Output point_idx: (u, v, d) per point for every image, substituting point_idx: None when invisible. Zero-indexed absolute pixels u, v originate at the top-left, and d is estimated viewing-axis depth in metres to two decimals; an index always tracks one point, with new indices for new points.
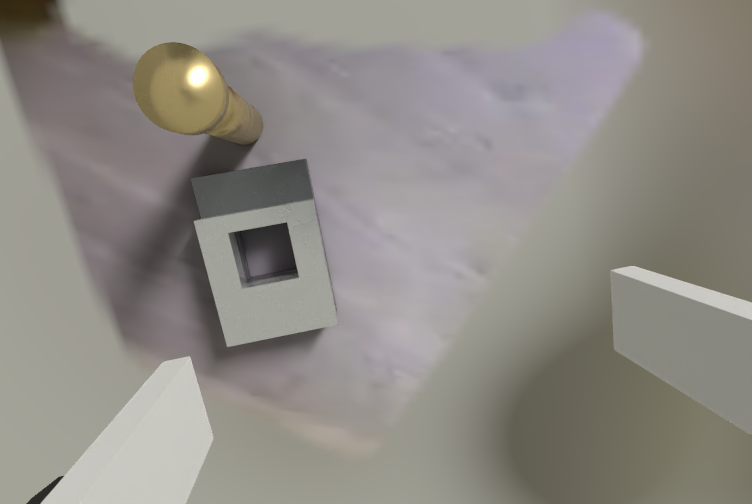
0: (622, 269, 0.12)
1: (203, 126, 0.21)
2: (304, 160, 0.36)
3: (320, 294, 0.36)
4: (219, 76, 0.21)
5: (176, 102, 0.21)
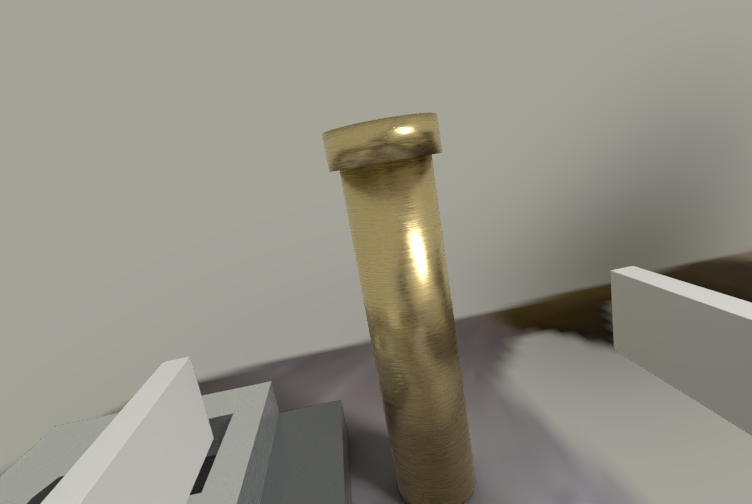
0: (622, 269, 0.12)
1: (327, 133, 0.15)
2: None
3: None
4: (395, 118, 0.13)
5: None
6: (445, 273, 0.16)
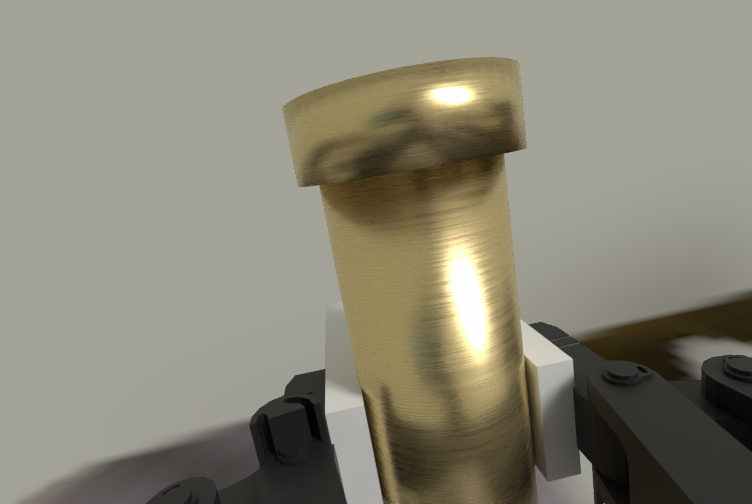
0: None
1: (289, 106, 0.07)
2: None
3: None
4: (444, 66, 0.06)
5: None
6: (525, 383, 0.08)
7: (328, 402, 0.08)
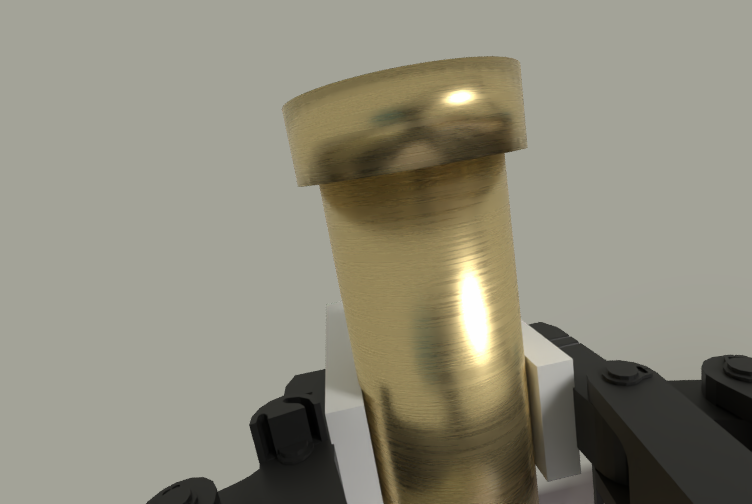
0: None
1: (289, 105, 0.07)
2: None
3: None
4: (445, 65, 0.06)
5: None
6: (526, 383, 0.08)
7: (328, 402, 0.08)
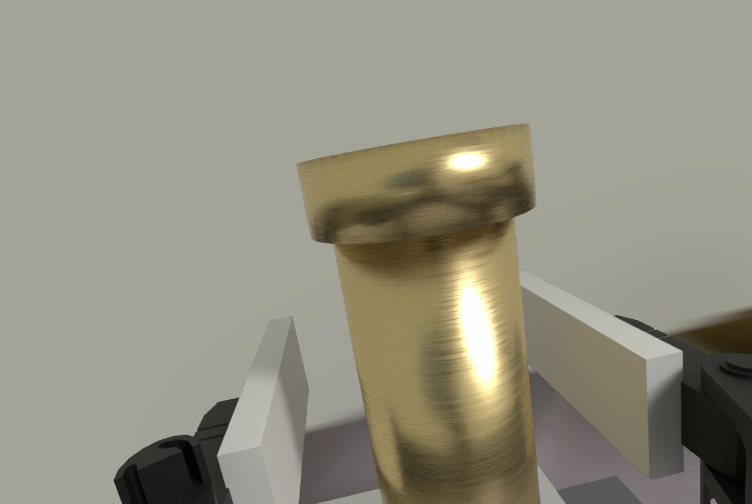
0: None
1: (304, 164, 0.07)
2: None
3: None
4: (459, 138, 0.06)
5: None
6: (532, 427, 0.08)
7: (226, 441, 0.07)
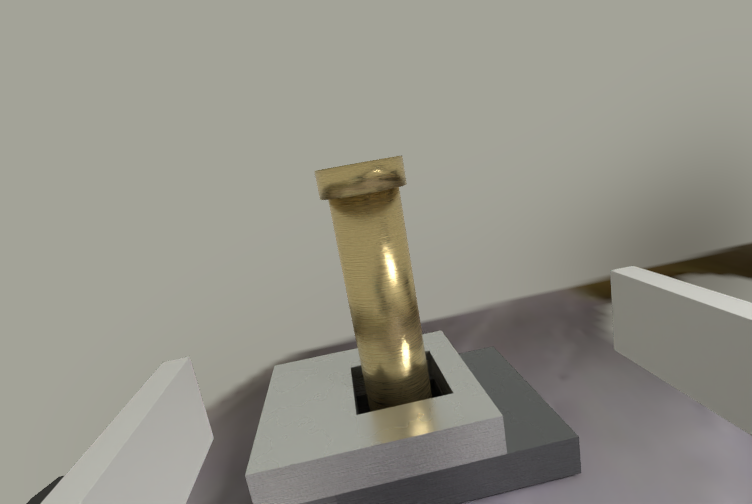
0: (622, 269, 0.12)
1: (318, 171, 0.19)
2: (574, 436, 0.19)
3: (318, 444, 0.18)
4: (368, 162, 0.18)
5: None
6: (410, 276, 0.21)
7: None
